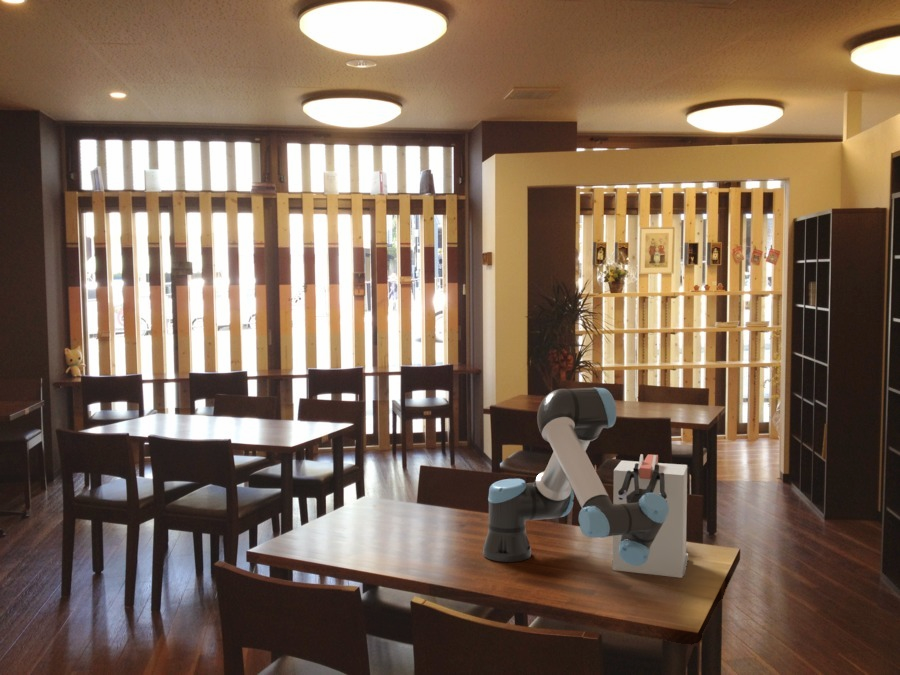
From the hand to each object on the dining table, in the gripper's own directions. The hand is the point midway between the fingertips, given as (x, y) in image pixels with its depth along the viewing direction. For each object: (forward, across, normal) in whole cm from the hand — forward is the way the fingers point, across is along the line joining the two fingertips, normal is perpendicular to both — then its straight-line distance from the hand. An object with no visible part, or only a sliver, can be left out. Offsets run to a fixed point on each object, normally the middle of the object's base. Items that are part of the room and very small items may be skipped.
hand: (648, 458), depth 234 cm
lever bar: (0, 0, -5) cm, 5 cm away
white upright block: (-10, 0, -34) cm, 35 cm away
